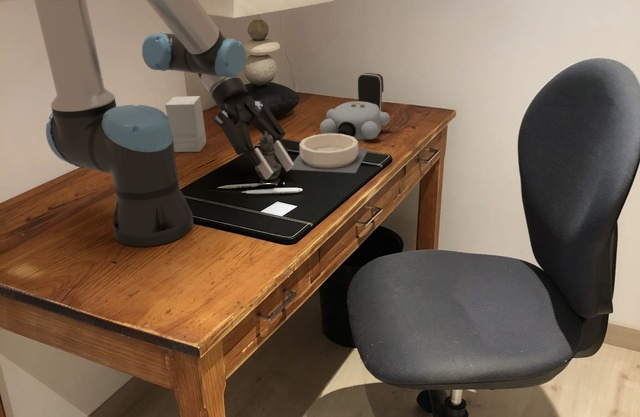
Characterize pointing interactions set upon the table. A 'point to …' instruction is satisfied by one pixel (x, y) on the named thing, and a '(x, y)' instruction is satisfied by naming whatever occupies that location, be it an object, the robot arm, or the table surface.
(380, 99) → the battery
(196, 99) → the supplement box
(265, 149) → the grey upright statuette
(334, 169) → the mat
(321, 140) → the bowl
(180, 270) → the table surface
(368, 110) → the grey rounded piece
